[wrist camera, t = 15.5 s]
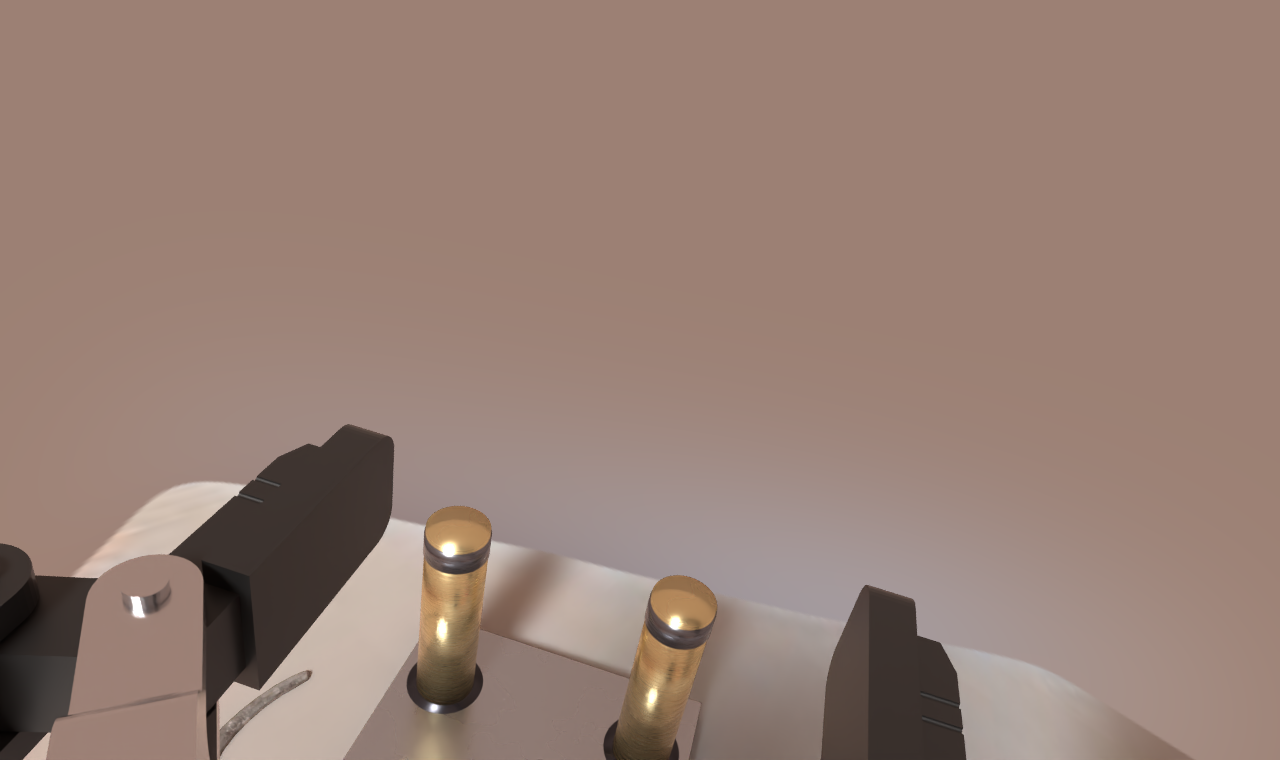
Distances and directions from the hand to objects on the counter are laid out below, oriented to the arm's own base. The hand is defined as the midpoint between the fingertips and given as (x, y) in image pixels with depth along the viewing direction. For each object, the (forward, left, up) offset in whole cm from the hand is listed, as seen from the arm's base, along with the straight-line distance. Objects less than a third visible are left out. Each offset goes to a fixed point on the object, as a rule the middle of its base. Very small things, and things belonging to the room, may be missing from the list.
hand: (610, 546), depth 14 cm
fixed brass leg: (+10, -18, -29) cm, 35 cm away
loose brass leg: (-1, -18, -29) cm, 34 cm away
